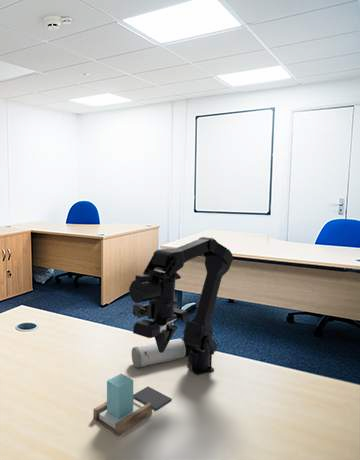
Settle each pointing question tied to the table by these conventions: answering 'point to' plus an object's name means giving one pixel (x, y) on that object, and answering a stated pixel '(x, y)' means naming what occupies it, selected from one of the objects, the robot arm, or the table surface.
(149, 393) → the dark gray rectangular plate
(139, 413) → the track
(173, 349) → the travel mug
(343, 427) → the table surface
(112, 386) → the blue pillar on plinth
